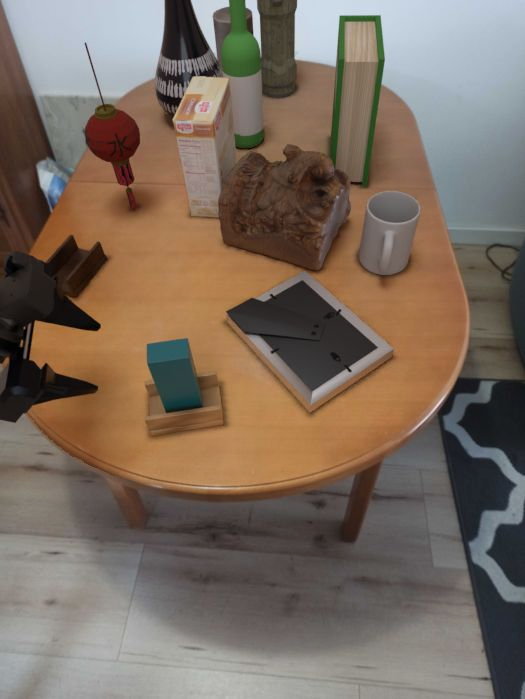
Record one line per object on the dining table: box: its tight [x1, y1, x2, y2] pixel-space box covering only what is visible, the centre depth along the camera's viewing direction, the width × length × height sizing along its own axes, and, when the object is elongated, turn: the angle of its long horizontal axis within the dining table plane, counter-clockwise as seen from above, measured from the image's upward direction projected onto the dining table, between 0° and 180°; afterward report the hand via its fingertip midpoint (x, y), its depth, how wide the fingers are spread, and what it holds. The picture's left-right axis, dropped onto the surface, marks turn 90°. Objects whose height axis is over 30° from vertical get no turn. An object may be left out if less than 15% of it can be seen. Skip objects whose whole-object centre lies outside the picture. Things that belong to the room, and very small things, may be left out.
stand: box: [144, 370, 225, 436], centre depth 70 cm, size 10×7×4 cm, turn 99°
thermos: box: [256, 0, 298, 99], centre depth 112 cm, size 9×12×35 cm
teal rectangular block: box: [146, 337, 203, 413], centre depth 66 cm, size 5×3×13 cm, turn 99°
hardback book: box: [329, 14, 386, 188], centre depth 97 cm, size 18×7×24 cm, turn 174°
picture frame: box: [225, 270, 395, 414], centre depth 77 cm, size 16×3×21 cm
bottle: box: [221, 0, 265, 149], centre depth 101 cm, size 8×8×30 cm
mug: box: [358, 190, 421, 276], centre depth 83 cm, size 12×8×11 cm
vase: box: [154, 0, 223, 119], centre depth 108 cm, size 16×16×30 cm
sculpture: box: [218, 143, 352, 271], centre depth 89 cm, size 19×18×20 cm
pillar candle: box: [211, 6, 254, 71], centre depth 126 cm, size 10×10×15 cm
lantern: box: [84, 42, 141, 211], centre depth 88 cm, size 10×10×30 cm
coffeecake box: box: [171, 76, 238, 219], centre depth 94 cm, size 15×7×20 cm, turn 171°
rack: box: [45, 234, 108, 298], centre depth 88 cm, size 10×7×4 cm, turn 159°
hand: (98, 357), depth 60 cm, fingers open, 9 cm apart
